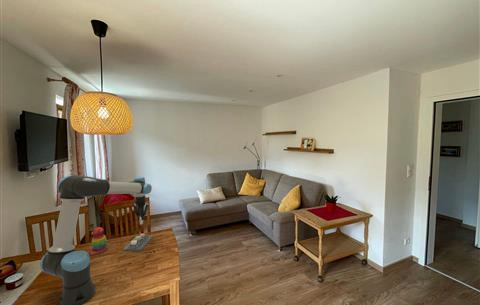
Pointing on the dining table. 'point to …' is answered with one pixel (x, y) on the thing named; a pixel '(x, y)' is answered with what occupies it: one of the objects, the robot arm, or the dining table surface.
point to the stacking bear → (98, 241)
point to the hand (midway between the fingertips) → (141, 223)
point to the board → (138, 244)
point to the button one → (133, 242)
